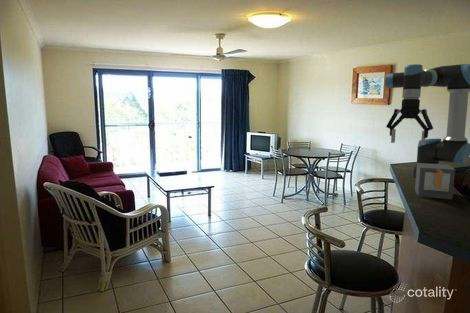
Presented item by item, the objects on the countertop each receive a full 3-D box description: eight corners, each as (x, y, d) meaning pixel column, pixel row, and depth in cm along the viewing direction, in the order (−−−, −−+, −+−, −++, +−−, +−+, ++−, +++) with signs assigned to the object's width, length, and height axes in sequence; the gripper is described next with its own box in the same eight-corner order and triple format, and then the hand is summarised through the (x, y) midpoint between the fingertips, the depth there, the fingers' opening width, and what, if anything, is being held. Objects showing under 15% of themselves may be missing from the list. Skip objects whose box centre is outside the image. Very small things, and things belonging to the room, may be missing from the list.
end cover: (420, 183, 170) (422, 163, 168) (443, 185, 166) (445, 165, 165) (425, 193, 152) (427, 170, 151) (451, 195, 149) (453, 172, 147)
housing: (414, 189, 174) (417, 162, 171) (446, 192, 168) (449, 164, 166) (418, 196, 161) (420, 167, 159) (452, 199, 155) (455, 169, 153)
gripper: (380, 98, 164) (378, 142, 167) (438, 98, 146) (433, 146, 149) (387, 99, 169) (384, 141, 172) (443, 98, 151) (439, 145, 154)
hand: (407, 143), depth 161 cm, fingers open, 13 cm apart
